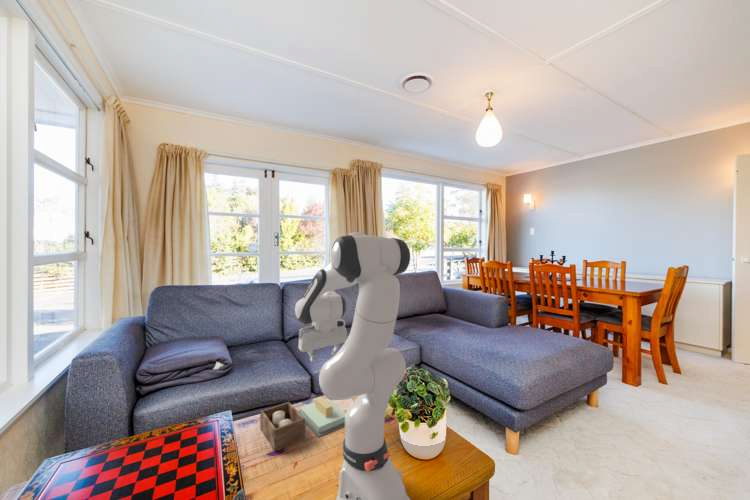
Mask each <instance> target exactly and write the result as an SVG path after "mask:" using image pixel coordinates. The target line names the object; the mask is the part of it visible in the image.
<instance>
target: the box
mask: <svg viewBox="0 0 750 500" xmlns="http://www.w3.org/2000/svg"><path fill="white" fill-rule="evenodd" d="M298 411H299V410H297V409H296V408H295V406H294V405H293V404H291V402H290V401H287V402H283V403H281V404H278V405H275V406H272V407H268V408H265V409H263V410H260V421H259V422H260V431H261V433H262V434H263V436H264V437H265V439H266V441H267V442H268V444H269V445H270V447H271V448H272V450H273V451H274V452H276V451H279V450H281V449H283V448H286V447H288V446H291V445H293V444H295V443H298V442H300V441H302V440H305V439H306V423H305V418H304V417H303V416H302V415H301V414H300V413H299V412H298Z"/></svg>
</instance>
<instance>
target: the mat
mask: <svg viewBox="0 0 750 500" xmlns="http://www.w3.org/2000/svg"><path fill="white" fill-rule="evenodd" d="M297 411H298V412H299V413H300V410H297ZM305 425H306V426H307V427H308V428H309V429H310V430H311V431H312V432H313V434H315V435H316V437H317V438H320V437H323V436H325V435H327V434H330V433H332V432H334V430H335V431H337V430H339V429H341V428H343V427H344V428H345V422H344V423H342V424H340V425H337V426H335V427H333V428H330V429H328V430H326V431H323V432H321V433H318V432H317V431H316V430H315V428H314V427H313V426H312V425H311V424H310V423H309V422H308V421H307V420H306V419H305Z"/></svg>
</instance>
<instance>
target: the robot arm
mask: <svg viewBox="0 0 750 500" xmlns="http://www.w3.org/2000/svg"><path fill="white" fill-rule="evenodd" d="M330 253H331V254H330V257H331V261H330V262H329V263H328V264H327V265H326V266H324V267H323V268H321V269H320V270H318V271H317V272H316V273H315V275H314V276H313V277H312V279H311V280H310V283H309V284H308V286H307V287H306V289H305V291H304V293H302V295H301V296H300V297H299V298H298V299H297V301H296V302H295V307H294V314H295V315H294V316H295V318H296V320H297V321H298V322H300V323H301V324H303V325H306V326H303V327H302V328H300V329H299V331H298V350H299V351H300V352H302V353H308V355H309V361H310V362H315V361H316V356H315V355H314V354H313V353H314V350H316V351H317V350H319V349H324V348H328V347H332V346H334V347H333V349H332V350H331V356H332V357H331V358H329V359H328V360H327V361H325V362H324V364H323V365H322V366H321V368H320V371H319V375H318V383H319V387H320V390H321V393H323V395H324V397H326V398H328V399H330V400H331V401H340V400H341V401H343V400H344V401H345V400H350V399H354V398H356V399H355V400H353V402H352V403H350V405H349V406H348V407H347V409H346V412H345V413H346V414H345V426H344V438H343V442H342V457H343V462H342V464H341V468H340V472H339V479H338V480H339V481H338V491H337V497H336V498H335V500H411V498H410V497H409V496H408V494H407V491H406V487H405V484H404V482H403V473H402V471H401V470H400V469H397V470H396V468H395V465H394V464H393V461H392V459H391V458H390V456H391V451H388V445H387V442H386V439H385V421H386V420H385V419H386V418H385V417H386V413H387V408H388V406H389V402H390V401H391V398H392V396H393V393H394V391H395V390H396V388H397V386H398V385H399V384H400V383H401V382H402V381H403V379H404V378H405V375H406V372H407V371H406V370H407V366H406V365H407V364H406V360H405V357H404V356H403V354H402V353H401V351H400V350H398V349H397V348H396V347H395V348H394V347H389V346H390V345H391V342H392V340H393V336H394V332H395V328H396V327H395V326H396V323H397V317H398V312H399V307H400V306H399V305H400V299H401V298H400V297H401V295H400V293H401V289H400V288H401V285H400V284H401V283H400V280H399V279H398V278H397V277H396V276H397V275H401V274H403V273H405V272H406V270H407V269H408V268H409V265H410V262H411V252H410V248H409V246H408V244H407V242H405V241H404V240H402V239H399V238H396V237H384V236H375V235H373V234H372V235H370V234H369V235H367V234H365V233H363V232H360V231H353V232H350V233H349V234H347V235H343V236H339V237H337V238H336V239H335V241H334V242H333V244H332V247H331V252H330ZM356 284H358V295H357V299H356V305H355V309H354V315H353V319H352V324H351V328H350V332H349V334H348V331H347V330H348V329H347V328H346V327H347V326H346V321H345V320H344V319H342V318H343V316H344V315H345V314H346V312H347V301H346V298H345V297H344V296H343V295H341V294H339V293H337V292H336V290H341V289H346V288H350V287H353V286H355V285H356ZM309 324H311V325H309ZM340 344H342V345H341V347H340ZM339 347H340V348H339ZM338 349H339V350H338ZM390 397H391V398H390ZM389 400H390V401H389Z"/></svg>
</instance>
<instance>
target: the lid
mask: <svg viewBox="0 0 750 500" xmlns="http://www.w3.org/2000/svg"><path fill="white" fill-rule="evenodd" d="M314 401H315V402H312V403H310V404H309V403H308V404H306V405H304V406H301V407H299V411H300V414H301V415H302V416H303V417H304V418H305V419H306V420H307V421H308V422H309V423H310V424H311V425H312V426H313V427H314V428H315V430H316V431H317V432H318V433H321V432H323V431H326V430H328V429H330V428H333V427H335V426H337V425H340V424H342V423H344V422H345V414H346V412H345V411H344V410H343V409H342V408H340V407H339V406H338V405H337V404H336V403H334V402H333V400H330V399H328V398H327V397H326V398H323V397H321V396H320V397H318V398H315V400H314Z"/></svg>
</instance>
